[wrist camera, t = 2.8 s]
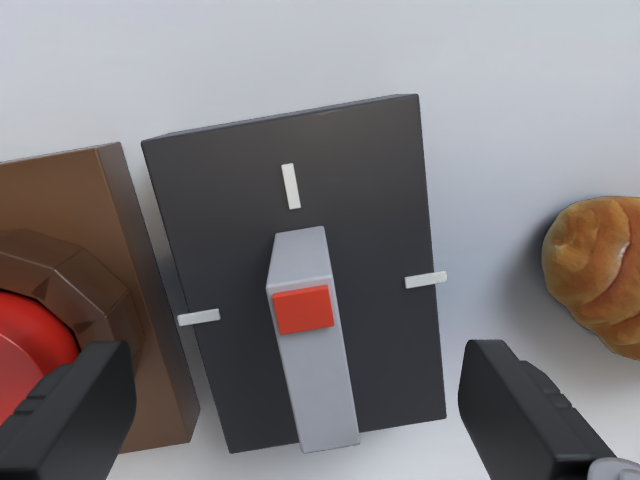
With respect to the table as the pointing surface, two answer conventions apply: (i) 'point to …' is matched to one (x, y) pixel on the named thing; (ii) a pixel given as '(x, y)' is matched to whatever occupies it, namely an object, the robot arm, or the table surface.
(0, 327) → the button
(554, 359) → the table surface
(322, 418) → the grey block red tab
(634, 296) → the pastry
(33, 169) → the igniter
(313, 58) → the table surface
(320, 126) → the panel
